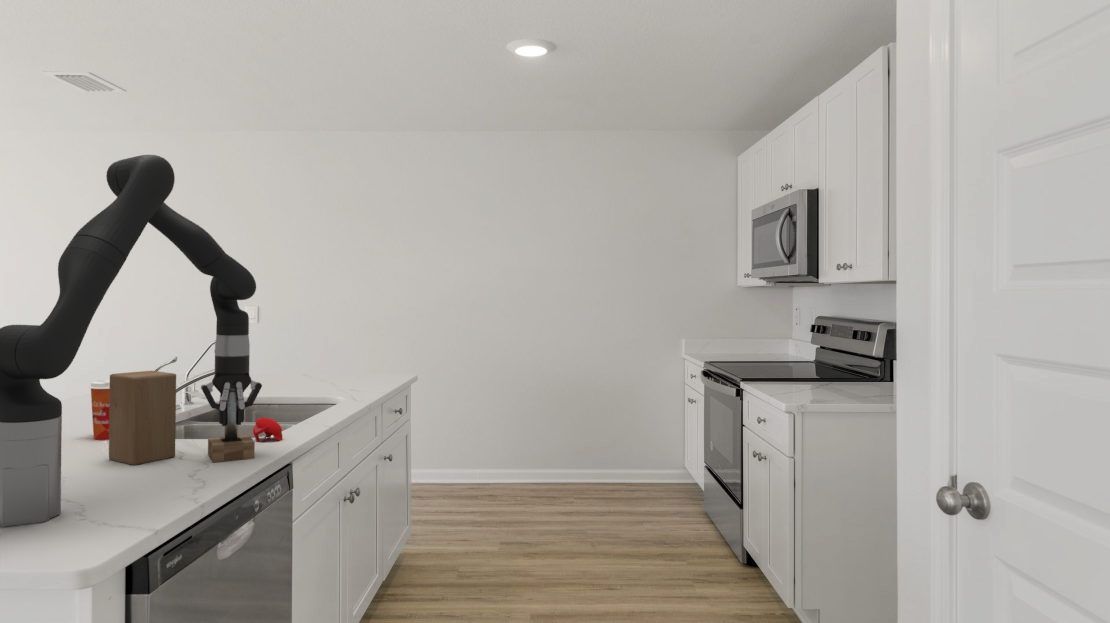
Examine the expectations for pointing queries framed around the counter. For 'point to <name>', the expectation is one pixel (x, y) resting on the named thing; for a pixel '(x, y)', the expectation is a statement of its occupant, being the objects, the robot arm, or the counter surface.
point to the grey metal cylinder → (231, 415)
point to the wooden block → (142, 416)
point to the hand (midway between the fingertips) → (231, 424)
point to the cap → (267, 428)
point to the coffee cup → (100, 408)
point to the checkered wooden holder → (231, 448)
